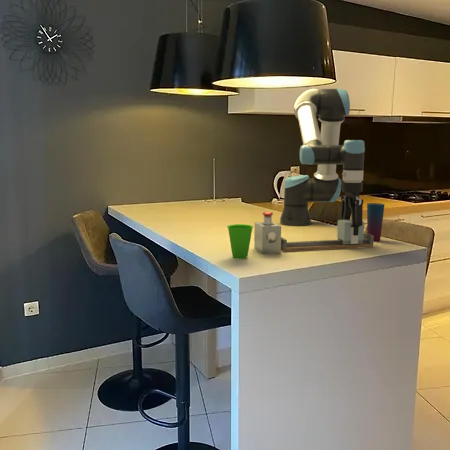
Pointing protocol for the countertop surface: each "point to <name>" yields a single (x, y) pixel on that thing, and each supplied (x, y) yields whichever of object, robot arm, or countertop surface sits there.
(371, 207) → the cup
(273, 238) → the grey push button box
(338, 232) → the carriage
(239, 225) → the cup
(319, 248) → the rail
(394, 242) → the countertop surface
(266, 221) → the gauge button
